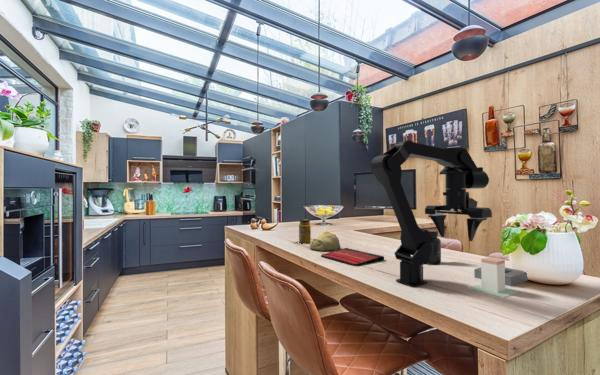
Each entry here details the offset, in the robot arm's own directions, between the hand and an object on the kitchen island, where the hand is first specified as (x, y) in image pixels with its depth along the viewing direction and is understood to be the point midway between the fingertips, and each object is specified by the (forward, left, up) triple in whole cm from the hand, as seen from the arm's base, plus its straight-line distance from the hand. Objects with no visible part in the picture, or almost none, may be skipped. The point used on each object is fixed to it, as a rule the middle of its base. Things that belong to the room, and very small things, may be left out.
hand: (456, 238), depth 95 cm
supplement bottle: (+10, +16, -12) cm, 23 cm away
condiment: (-7, +79, -12) cm, 80 cm away
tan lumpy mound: (-8, +59, -12) cm, 61 cm away
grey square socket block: (+8, -9, -12) cm, 17 cm away
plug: (-4, -13, -11) cm, 18 cm away
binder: (-10, +38, -13) cm, 42 cm away
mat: (-4, -13, -12) cm, 18 cm away
